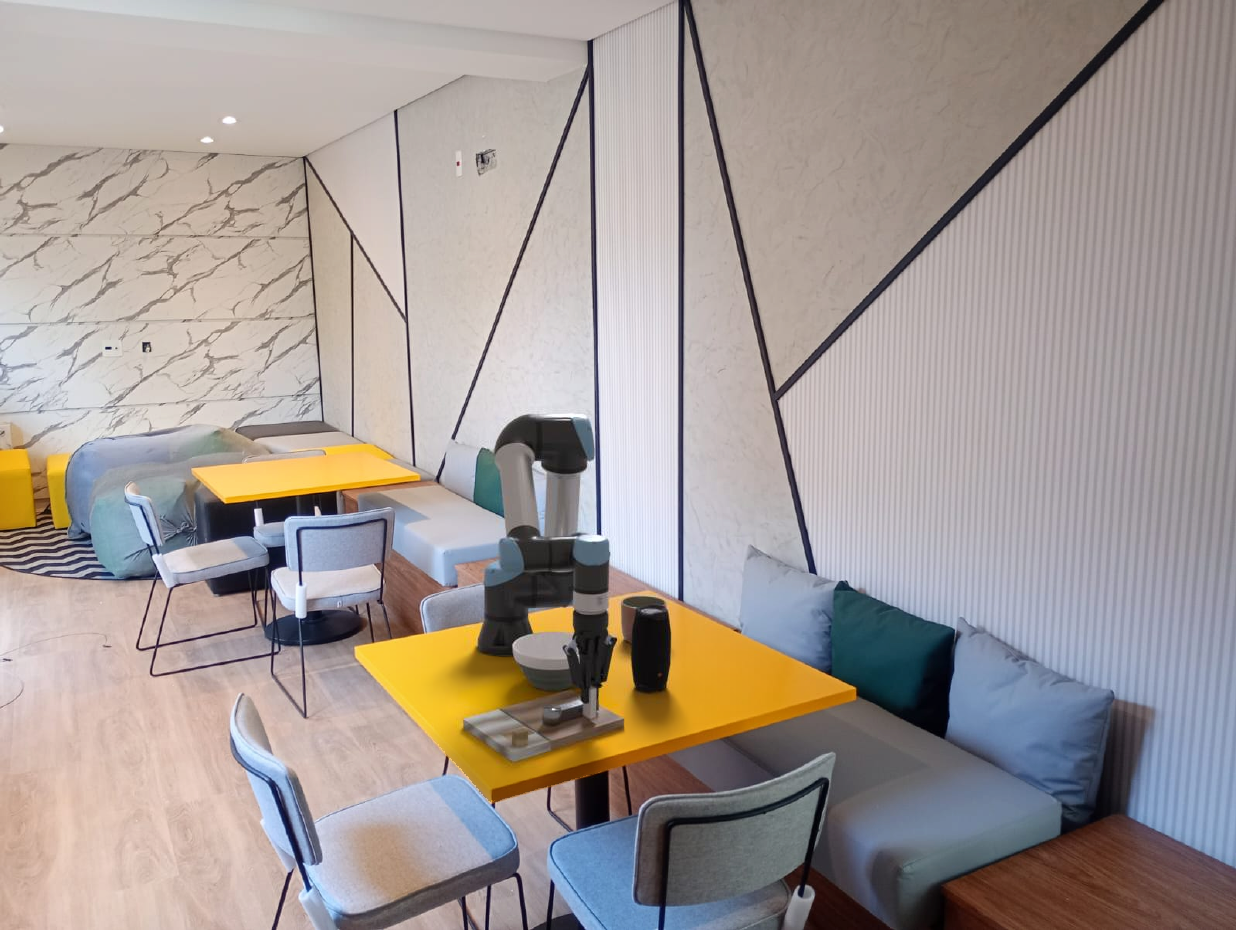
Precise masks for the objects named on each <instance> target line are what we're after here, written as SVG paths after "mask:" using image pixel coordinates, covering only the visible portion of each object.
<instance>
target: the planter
mask: <svg viewBox="0 0 1236 930" xmlns="http://www.w3.org/2000/svg"><path fill="white" fill-rule="evenodd" d="M650 604H659V605H663V606H665V608H666V609H667V601H666V600H665V599H664V598H661V597H658V596H651V595H631V596H627V597H625V598H623V599H621V601H620V616H621V617H620V619H621V620H620V623H621V633H622V637H623V638H624V640H625V641H626V642H629V643H630V644H632V627H633V623H634V618H635V611H636V607H642V606H647V605H650Z"/></svg>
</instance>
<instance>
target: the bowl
mask: <svg viewBox="0 0 1236 930" xmlns="http://www.w3.org/2000/svg"><path fill="white" fill-rule="evenodd" d="M573 634H574V632H573V633H572V632H567V631H566V632H564V631H542V632H536V633H534V632H533V634H530V635H526V636H523V637H521V638H519V639H517V640H516V641H515V642H514V643H513V645H512V646H513V655H514V656H513V658H514V660H515V662H516V663H517V665H518V667H519V668H520V669H521V672H522V673H523V675H524V676H525V677H526V678H527V679H528V681H529V683H530V685H531V686H532V687H534V688H536V689H539V690H542V691H552V692H553V691H555V692H556V691H563V690H564V691H565V690H568V689H570V688H572V687H574V685H573V684H572V679H571V674H570V669H569V664H568V660H567V655H566V654H565V652H564V650H563V646H564V645H567V646H568V645H569V644H570V643H571V642H572V637H573ZM576 649H577V656H578V659H579V664H580V656H579V654H578V648H577V647H576Z"/></svg>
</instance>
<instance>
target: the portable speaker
mask: <svg viewBox="0 0 1236 930" xmlns="http://www.w3.org/2000/svg"><path fill="white" fill-rule="evenodd" d="M630 645H631V646H630V647H631V651H630V661H631V663H630V665H631V672H632V680H633V684H634V687H635V689H636V691H638V692H640V693H645V694H650V693H651V692H652V691H655V690H661V691H665V690H666V689H667V686H668V685H667V684H668V680H669V676H670V675H669V674H670V668H671V659H672V655H671V654H672V652H671V651H672V628H671V622H670V614H669V610H668V608H667V607H666V608H665V606H663V605H659V604H650V605H647V606H642V607H636V611H635V618H634V623H633V627H632V643H630Z"/></svg>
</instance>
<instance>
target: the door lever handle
mask: <svg viewBox="0 0 1236 930" xmlns="http://www.w3.org/2000/svg"><path fill="white" fill-rule="evenodd" d="M599 703H600V699H599V698H598V700H597V701H596V711H599V705H600V704H599ZM582 715H583V702H581V700H577V701H574V702H570V703H566V704H563V705H559V706H555V705H549V706H545V707H543V709H542V722H543V724H545V725H550V726H553V725H558V724H560V723H561V722H562V721H565V720H569V719H572V718H575V717H579V716H582Z"/></svg>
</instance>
